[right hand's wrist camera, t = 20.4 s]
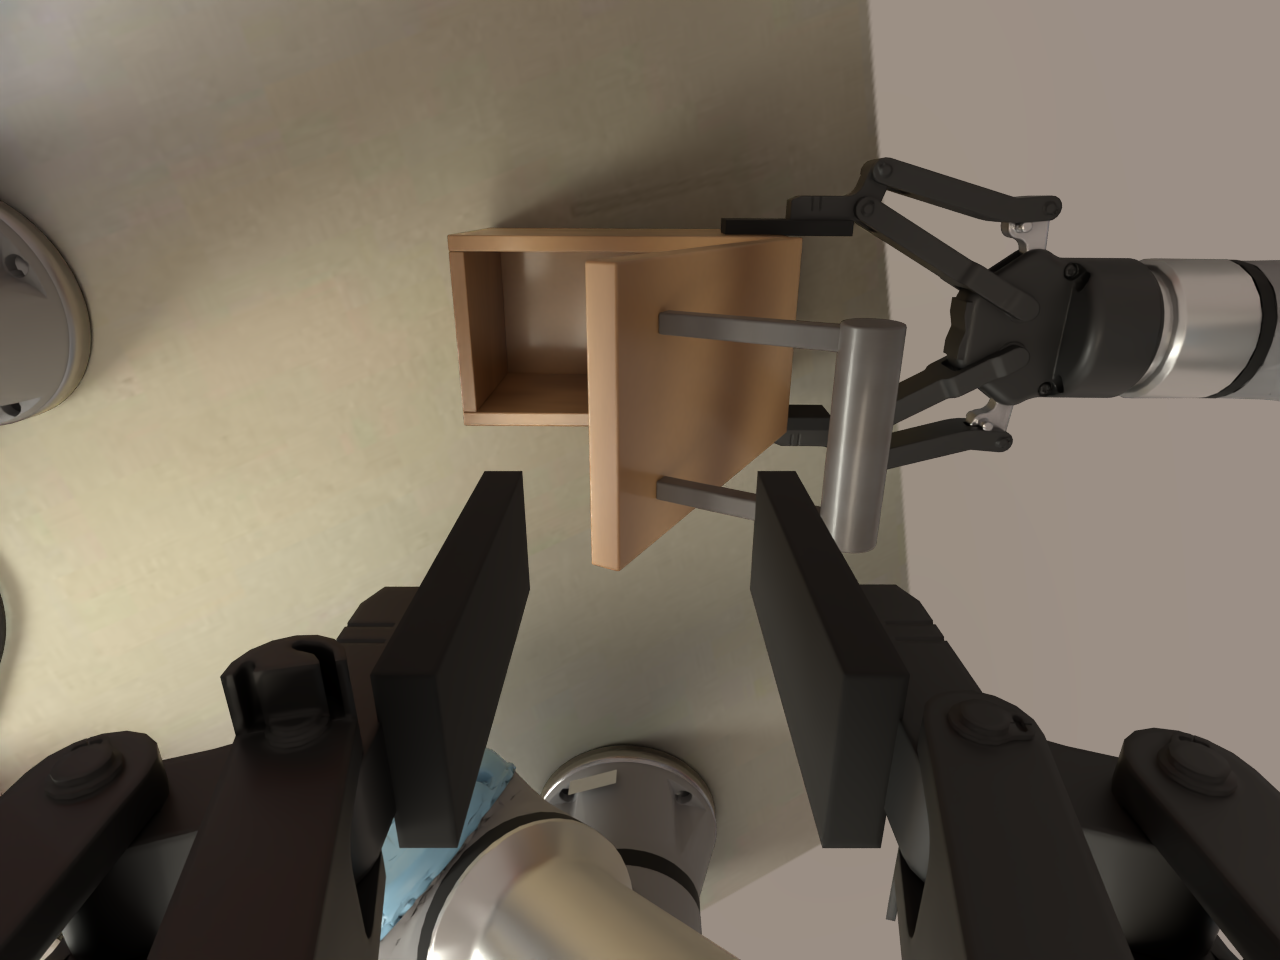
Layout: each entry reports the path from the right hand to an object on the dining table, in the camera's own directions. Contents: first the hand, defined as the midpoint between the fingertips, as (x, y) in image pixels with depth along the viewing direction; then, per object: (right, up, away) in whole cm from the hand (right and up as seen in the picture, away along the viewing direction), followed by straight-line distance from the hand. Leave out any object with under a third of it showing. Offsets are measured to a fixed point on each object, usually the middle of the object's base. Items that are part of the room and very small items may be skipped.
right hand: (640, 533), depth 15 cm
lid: (+3, +6, +14) cm, 16 cm away
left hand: (+4, +10, +25) cm, 27 cm away
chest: (-1, +12, +31) cm, 34 cm away
